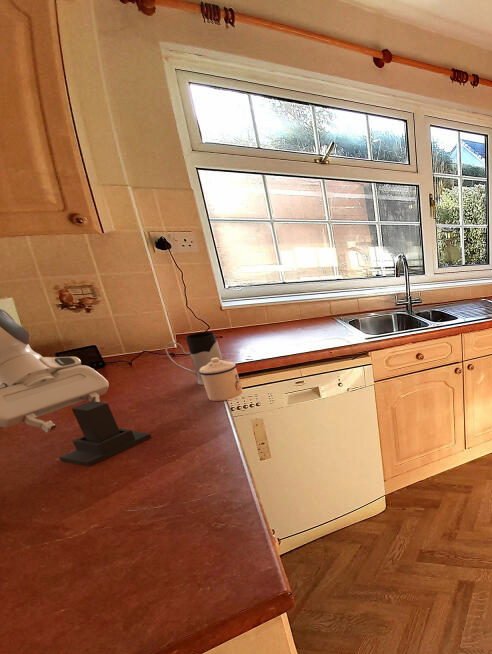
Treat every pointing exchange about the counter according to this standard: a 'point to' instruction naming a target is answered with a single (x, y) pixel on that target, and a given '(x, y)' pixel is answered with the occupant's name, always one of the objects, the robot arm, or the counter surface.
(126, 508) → the counter surface
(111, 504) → the counter surface
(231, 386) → the teacup with lid
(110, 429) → the dark grey rectangular block
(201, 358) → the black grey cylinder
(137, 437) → the base pad
